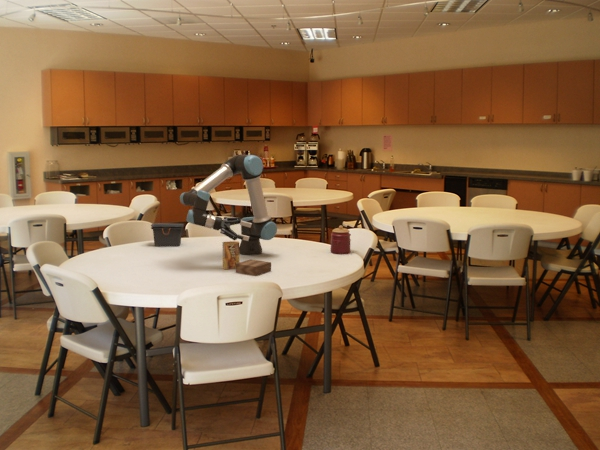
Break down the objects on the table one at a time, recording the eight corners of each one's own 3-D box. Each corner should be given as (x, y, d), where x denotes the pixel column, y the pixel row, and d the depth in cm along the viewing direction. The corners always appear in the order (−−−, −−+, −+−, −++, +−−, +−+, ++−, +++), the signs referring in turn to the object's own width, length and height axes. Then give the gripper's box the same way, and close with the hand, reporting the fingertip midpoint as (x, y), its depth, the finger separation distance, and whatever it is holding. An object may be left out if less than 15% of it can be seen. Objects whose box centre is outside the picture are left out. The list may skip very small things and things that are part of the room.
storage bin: (184, 243, 433) (184, 222, 430) (182, 247, 417) (182, 226, 415) (153, 243, 430) (152, 223, 428) (150, 248, 415) (149, 226, 413)
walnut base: (235, 272, 348) (235, 263, 347) (251, 267, 359) (251, 259, 358) (256, 275, 340) (256, 266, 339) (271, 271, 352) (271, 262, 351)
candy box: (237, 266, 362) (236, 240, 360) (239, 268, 358) (239, 241, 356) (222, 268, 358) (222, 241, 356) (224, 269, 354) (224, 242, 352)
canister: (327, 253, 402) (327, 226, 400) (334, 249, 414) (334, 223, 412) (346, 255, 398) (347, 227, 395) (353, 251, 409) (353, 224, 407)
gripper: (212, 229, 344) (249, 239, 347) (218, 205, 365) (253, 215, 368) (209, 240, 348) (246, 249, 351) (215, 215, 369) (250, 225, 372)
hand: (250, 232), depth 360 cm, fingers open, 13 cm apart
